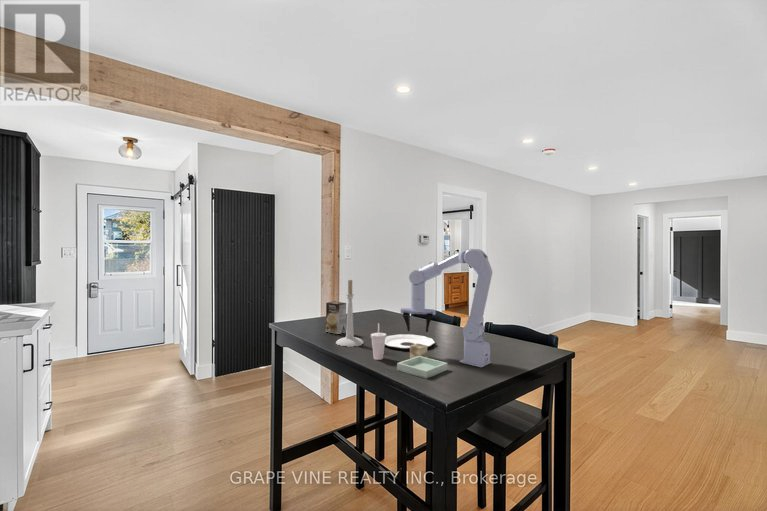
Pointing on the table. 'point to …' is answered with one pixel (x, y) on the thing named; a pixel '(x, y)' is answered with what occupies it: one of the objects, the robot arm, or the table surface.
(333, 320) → the coffee box
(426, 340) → the plate
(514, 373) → the table surface
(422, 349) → the maple cube
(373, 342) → the smoothie
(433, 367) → the green tray
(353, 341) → the candlestick
